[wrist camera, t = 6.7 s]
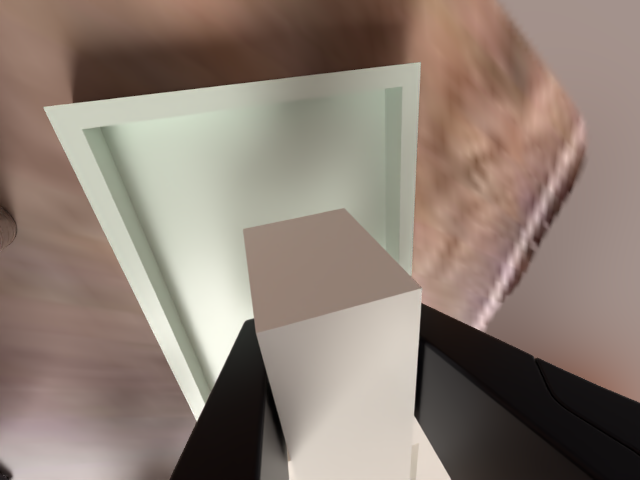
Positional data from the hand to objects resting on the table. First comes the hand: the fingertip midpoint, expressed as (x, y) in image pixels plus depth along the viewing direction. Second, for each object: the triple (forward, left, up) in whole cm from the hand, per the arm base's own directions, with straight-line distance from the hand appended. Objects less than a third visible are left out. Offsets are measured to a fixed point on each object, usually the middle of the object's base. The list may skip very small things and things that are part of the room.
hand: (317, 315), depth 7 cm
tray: (-5, 0, -10) cm, 11 cm away
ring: (-5, 0, -1) cm, 5 cm away
